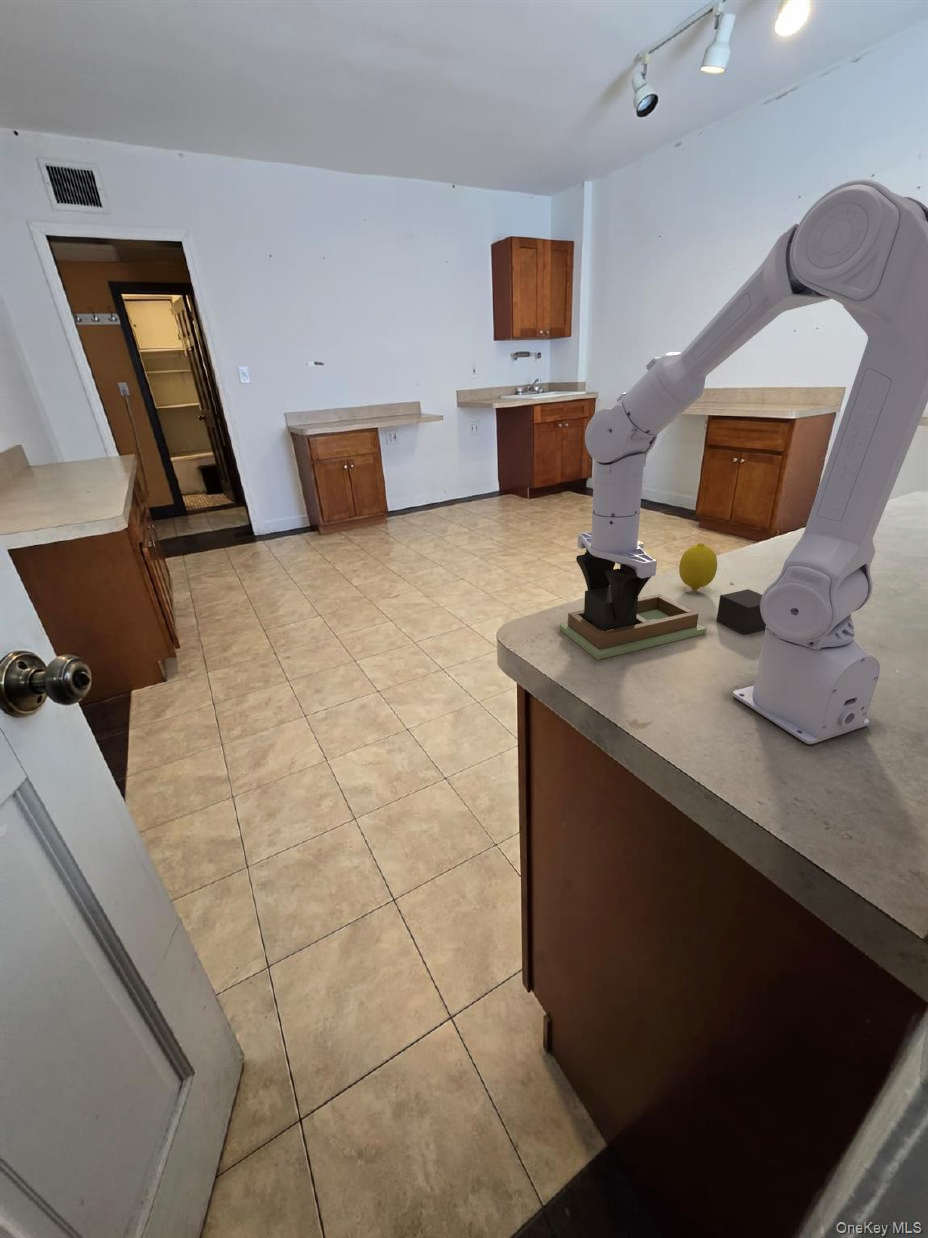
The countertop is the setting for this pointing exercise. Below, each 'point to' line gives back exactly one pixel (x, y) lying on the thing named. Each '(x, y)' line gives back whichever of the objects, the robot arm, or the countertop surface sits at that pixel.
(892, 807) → the countertop surface
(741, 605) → the black block
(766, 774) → the countertop surface
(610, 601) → the pad
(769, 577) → the countertop surface
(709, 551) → the lemon
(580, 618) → the dock
